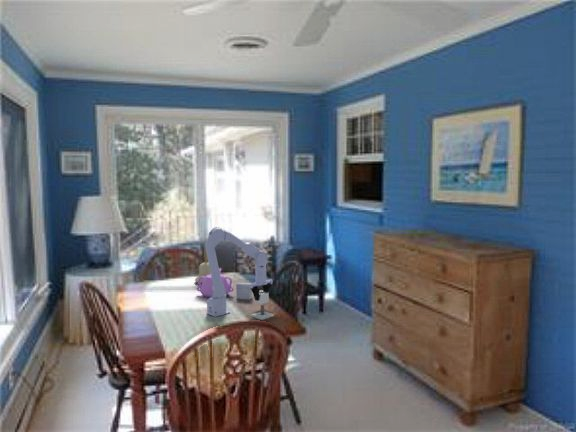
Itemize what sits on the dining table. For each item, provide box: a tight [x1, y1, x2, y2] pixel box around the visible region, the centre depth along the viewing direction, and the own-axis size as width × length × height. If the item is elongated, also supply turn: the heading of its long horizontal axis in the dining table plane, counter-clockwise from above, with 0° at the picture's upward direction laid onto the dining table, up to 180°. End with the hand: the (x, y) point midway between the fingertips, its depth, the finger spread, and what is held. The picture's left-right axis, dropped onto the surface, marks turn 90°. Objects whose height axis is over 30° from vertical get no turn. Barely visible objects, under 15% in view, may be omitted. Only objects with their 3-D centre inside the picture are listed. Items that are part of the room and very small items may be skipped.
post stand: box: [250, 304, 275, 321], centre depth 233 cm, size 8×8×6 cm
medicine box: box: [235, 282, 253, 301], centre depth 265 cm, size 8×4×9 cm, turn 74°
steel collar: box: [253, 290, 270, 305], centre depth 244 cm, size 6×6×5 cm
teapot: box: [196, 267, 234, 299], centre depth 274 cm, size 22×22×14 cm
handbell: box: [194, 244, 211, 284], centre depth 303 cm, size 15×15×25 cm
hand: (261, 299), depth 244 cm, fingers closed on steel collar, 6 cm apart
